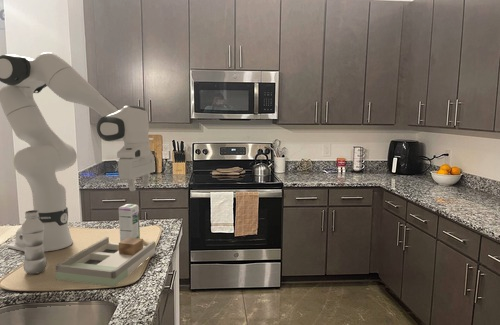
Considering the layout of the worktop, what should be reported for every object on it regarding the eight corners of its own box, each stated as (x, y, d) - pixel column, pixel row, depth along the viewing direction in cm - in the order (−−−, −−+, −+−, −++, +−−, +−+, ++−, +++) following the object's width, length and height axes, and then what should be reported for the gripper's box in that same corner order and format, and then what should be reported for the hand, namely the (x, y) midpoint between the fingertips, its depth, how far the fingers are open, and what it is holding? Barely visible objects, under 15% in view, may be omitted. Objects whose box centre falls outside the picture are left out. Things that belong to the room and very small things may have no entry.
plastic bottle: (31, 278, 116) (26, 215, 113) (19, 272, 119) (15, 212, 117) (51, 270, 121) (47, 211, 118) (39, 266, 125) (36, 207, 122)
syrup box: (133, 243, 147) (132, 207, 145) (119, 242, 148) (118, 206, 146) (140, 238, 153) (139, 204, 151) (126, 237, 154) (125, 203, 152)
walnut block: (119, 254, 130) (118, 243, 129) (128, 247, 136) (127, 237, 135) (134, 255, 129) (134, 244, 128) (143, 249, 134) (143, 238, 134)
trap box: (56, 279, 115) (55, 265, 115) (106, 248, 142) (106, 236, 141) (114, 286, 111) (114, 272, 111) (155, 253, 138) (155, 241, 137)
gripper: (143, 147, 145) (145, 182, 147) (113, 153, 126) (116, 193, 127) (158, 147, 144) (159, 183, 146) (131, 153, 124) (133, 194, 126)
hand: (139, 188), depth 136 cm, fingers open, 8 cm apart
